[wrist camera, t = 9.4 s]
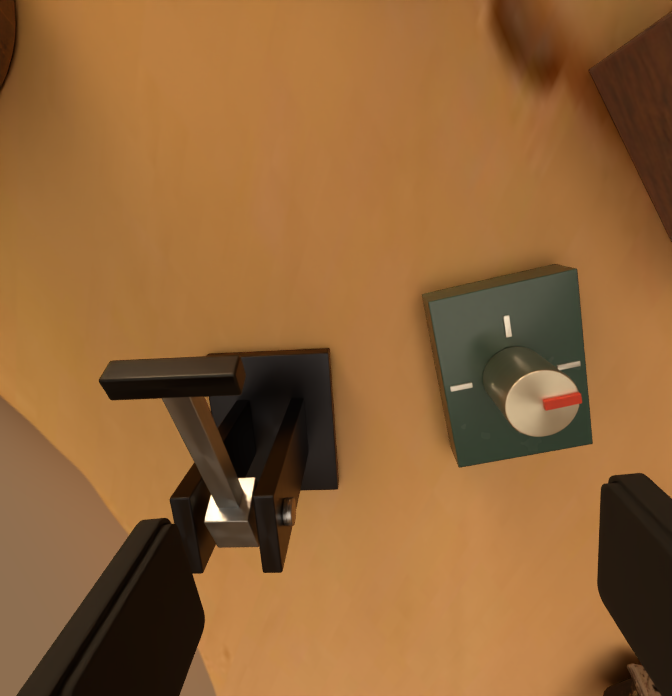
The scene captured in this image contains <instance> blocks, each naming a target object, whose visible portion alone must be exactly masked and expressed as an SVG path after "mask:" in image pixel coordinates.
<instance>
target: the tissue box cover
mask: <svg viewBox="0 0 672 696" xmlns="http://www.w3.org/2000/svg"><path fill="white" fill-rule="evenodd" d="M589 71H590V74H591V76H592V78H593V80H594V82H595V84H596V86H597V88H598V90H599V92H600V94H601V96H602V98H603V101H604V103H605V105H606V107H607V109H608V111H609V113H610V115H611V117H612V119H613V121H614V123H615V125H616V127H617V129H618V132H619V134H620V136H621V138H622V140H623V142H624V144H625V146H626V148H627V150H628V152H629V154H630V156H631V158H632V161H633V163H634V165H635V167H636V169H637V171H638V173H639V175H640V177H641V179H642V181H643V183H644V185H645V187H646V189H647V192H648V194H649V196H650V198H651V200H652V202H653V204H654V206H655V208H656V210H657V212H658V214H659V216H660V218H661V221H662V223H663V225H664V227H665V229H666V231H667V233H668V235H669V237H670V239H671V241H672V11H671V12H670V13H668V14H667V15H665V16H664V17H663V18H661V19H660V20H658V21H657V22H656V23H654V24H653V25H651V26H650V27H649V28H647V29H646V30H644V31H643V32H641V33H640V34H639V35H637V36H636V37H634V38H633V39H632V40H630V41H629V42H627V43H626V44H624V45H623V46H622V47H620V48H619V49H617V50H616V51H615V52H613V53H612V54H610V55H609V56H608V57H606V58H605V59H603V60H602V61H600V62H599V63H598V64H596V65H595V66H593V67H592V68H591V69H589Z"/></svg>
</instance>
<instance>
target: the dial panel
mask: <svg viewBox="0 0 672 696" xmlns="http://www.w3.org/2000/svg"><path fill="white" fill-rule="evenodd" d="M422 299H423V304H424V310H425V315H426V320H427V326H428V331H429V336H430V341H431V347H432V352H433V357H434V363H435V368H436V373H437V378H438V384H439V389H440V394H441V400H442V405H443V410H444V416H445V421H446V426H447V431H448V437H449V442H450V447H451V449H452V452H453V454H454V457H455V459H456V462H457V464H458V467H459V468H460V467H466V466H471V465H477V464H482V463H488V462H494V461H499V460H505V459H510V458H516V457H522V456H527V455H533V454H538V453H544V452H549V451H555V450H561V449H566V448H572V447H577V446H583V445H589V444H593V441H592V430H591V419H590V407H589V396H588V385H587V374H586V363H585V352H584V340H583V329H582V318H581V307H580V296H579V285H578V273H577V269H576V268H571V267H567V266H562V265H558V264H553V265H548V266H544V267H540V268H535V269H531V270H526V271H522V272H518V273H513V274H509V275H504V276H500V277H496V278H491V279H487V280H482V281H478V282H474V283H469V284H465V285H460V286H456V287H452V288H447V289H443V290H438V291H434V292H430V293H425V294H422ZM510 347H525V348H528V349H531V350H533V351H535V352H536V353H537V354H539V355H540V356H541V357H543V358H544V359H545V360H547V361H548V362H549V363H551V364H552V365H553V366H555V367H556V368H557V369H559V370H560V371H561V372H563V373H564V374H565V375H567V376H568V377H569V378H570V379H571V380H572V381H573V382H574V383H575V385H576V386H577V389H578V391H579V393H580V394H581V397H582V403H581V404H579V408H578V411H577V414H576V415H575V417H574V419H573V420H572V421H571V422H570V424H569V425H568V426H566V427H565V428H564V429H562V430H561V431H559V432H557V433H555V434H552V435H549V436H543V437H533V436H528V435H525V434H522V433H520V432H519V431H517V430H516V429H515V428H513V427H512V425H511V424H510V423H509V422H508V420H507V419H506V418H505V416H504V415H503V414H502V412H501V411H500V410H499V408H498V407H497V406H496V404H495V403H494V401H493V400H492V399H491V397H490V396H489V395H488V393H487V392H486V390H485V388H484V384H483V373H484V369H485V367H486V365H487V363H488V362H489V360H490V359H491V358H492V357H493V356H494V355H495V354H497V353H498V352H500V351H502V350H504V349H506V348H510Z"/></svg>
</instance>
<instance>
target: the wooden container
mask: <svg viewBox="0 0 672 696" xmlns="http://www.w3.org/2000/svg"><path fill="white" fill-rule="evenodd" d="M14 40H15V6H14V0H0V87H1V85H2V83H3V81H4V79H5V77H6V74H7V71H8V68H9V64H10V61H11V57H12V52H13V47H14Z"/></svg>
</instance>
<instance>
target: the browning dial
mask: <svg viewBox="0 0 672 696" xmlns="http://www.w3.org/2000/svg"><path fill="white" fill-rule="evenodd" d="M483 384H484V388H485V390H486V392H487V393H488V395H489V396H490V397H491V399H492V400H493V401H494V403H495V404H496V406H497V407H498V408H499V410H500V411H501V412H502V414H503V415H504V416H505V418H506V419H507V420H508V422H509V423H510V424H511V425H512V427H513V428H515V429H516V430H517V431H519V432H520V433H522V434H525V435H528V436H533V437H543V436H549V435H552V434H555V433H557V432H559V431H561V430H562V429H564V428H565V427H566V426H568V425H569V424H570V422H571V421H572V420H573V419H574V417H575V415H576V414H577V411H578V408H579V404H581V403H582V397H581V394H580V393H579V391H578V389H577V386H576V385H575V383H574V382H573V381H572V380H571V379H570V378H569V377H568V376H567V375H565V374H564V373H563V372H561V371H560V370H559V369H557V368H556V367H555V366H553V365H552V364H551V363H549V362H548V361H547V360H545V359H544V358H543V357H541V356H540V355H539V354H537V353H536V352H535V351H533V350H531V349H528V348H525V347H510V348H506V349H504V350H502V351H500V352H498V353H497V354H495V355H494V356H493V357H492V358H491V359H490V360H489V362H488V363H487V365H486V367H485V369H484V373H483Z"/></svg>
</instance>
